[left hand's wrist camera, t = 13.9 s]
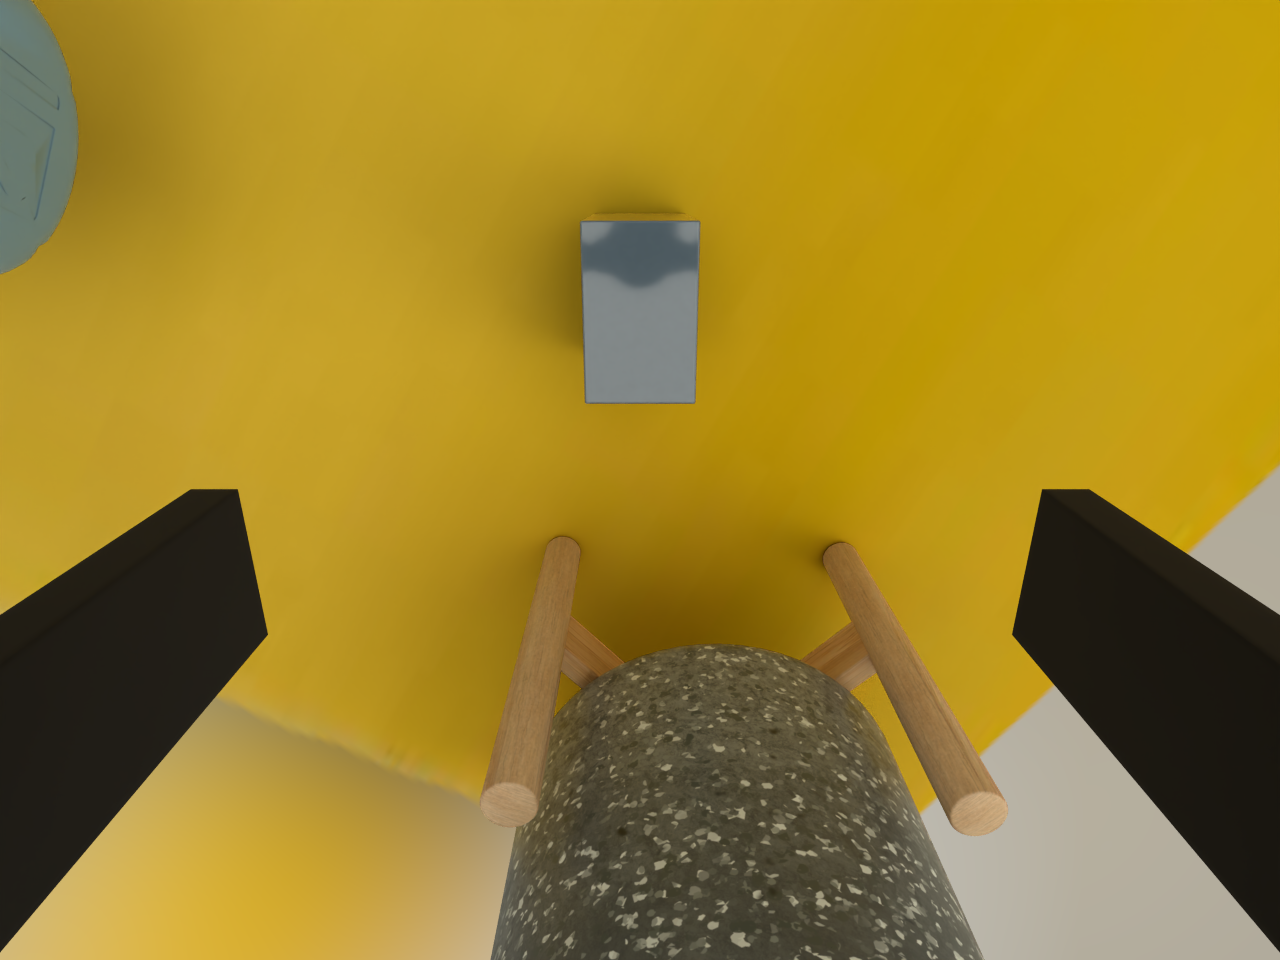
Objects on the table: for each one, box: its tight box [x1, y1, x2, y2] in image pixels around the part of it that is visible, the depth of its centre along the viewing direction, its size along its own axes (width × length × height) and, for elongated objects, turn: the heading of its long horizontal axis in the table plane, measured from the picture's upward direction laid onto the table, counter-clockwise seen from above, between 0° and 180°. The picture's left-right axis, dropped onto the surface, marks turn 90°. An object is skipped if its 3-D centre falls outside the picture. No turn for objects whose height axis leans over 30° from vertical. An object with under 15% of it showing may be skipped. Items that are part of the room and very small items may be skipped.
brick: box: [580, 213, 700, 404], centre depth 42 cm, size 6×9×12 cm, turn 0°
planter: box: [480, 537, 1008, 960], centre depth 42 cm, size 22×22×32 cm
